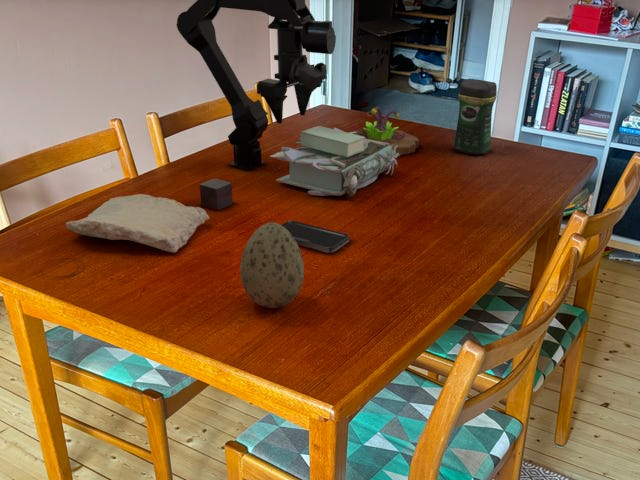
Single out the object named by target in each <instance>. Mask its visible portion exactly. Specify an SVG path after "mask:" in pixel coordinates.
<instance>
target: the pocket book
mask: <svg viewBox="0 0 640 480" xmlns="http://www.w3.org/2000/svg"><path fill="white" fill-rule="evenodd" d="M342 131H343V130H341V131H338V130H334V128H329V127H326V126H321V125H317V126H314V127H311V128H308V129H305V130H302V131H300V138H301V140H300V142H301V144H300V146H301V147H303V146H306V147H309V148H313V149H317V150H321V151H325V152H329V153H332V154H336V155H340V156H344V157H349V156H352V155H354V154H357V153H359V152H362V151H364V150H365V149H363V145H364V138H365V137H363V136H359V135H355V134H351V133H350V132H346V131H344V132H342Z"/></svg>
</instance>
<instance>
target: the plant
mask: <svg viewBox="0 0 640 480" xmlns="http://www.w3.org/2000/svg"><path fill="white" fill-rule="evenodd" d="M377 112H378V114H377ZM391 114H394V118H396V119H398V118H399V117H400V114H399V112H398V111H395V110H390V111H388V112H387V113H386V114H385V116H384V117H383V113H382V109H381V108H380V107H379V106H375V107H373V108H372V109H371V110H369V111H368V112H367V116H368V117H369V118H371V117H372V116H374V118H375V119H376V120H375V121H374V122H373V123H372V122H370V121H365V126H366V128H365V127H362V129H360V128H357V129H356V130H354V131H352V132H357V133H353V134H355V135H359V136H363V137H365V138H364V139H369V140H374V141H379V142H385V143H388V144H390V146H392V149H393V150H394V148H395V146H396V145H398V146H397V147H396V153H399V156H400V157H401V156H404V155H405V156H407V155H410V154H412V153H415V152H416V149H419V147H420V140H419V138H418V137H416V136H414V135H411V134H409V133H407V132H404V131H403V130H398V129H399V128H400V127H399V126H395V127H394V126H393V127H392V124H393V122H390V121H389V120H388V119H389V116H390V115H391ZM392 144H393V145H392ZM396 153H395V154H396ZM395 154H394V155H395ZM399 156H398V157H399Z"/></svg>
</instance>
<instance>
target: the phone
mask: <svg viewBox="0 0 640 480" xmlns="http://www.w3.org/2000/svg"><path fill="white" fill-rule="evenodd" d="M280 225H281V226H283V227H284V228H286V229H287V230H288V231H289V232H290V234H291V235H292V236H293V238H294V239H295V241H296V242H297V244H298V246H301V247H304V248H307V249H311V250H314V251H318V252H322V253H326V254H334V253H335V252H337V251H339V250H340V249H341V248H343V247H344V246H345V245H347V244H349V243H350V234H347V233H343V232H339V231H335V230H332V229H328V228H324V227H320V226H316V225H311V224H307V223H304V222H300V221H296V220H287V221H286V222H284V223H282V224H280Z"/></svg>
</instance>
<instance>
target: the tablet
mask: <svg viewBox="0 0 640 480" xmlns="http://www.w3.org/2000/svg"><path fill="white" fill-rule="evenodd" d="M207 220H210V215H208V213H207V211H206V210H205V209H204V208H201V207H199V206H186V205H184V204H183V203H181V202H178V201H177V200H175V199H170V198H168V197H155V196H154V195H153V196H152V195H150V194H143V193H140V194H139V193H138V194H133V195H124V196H123V195H122V196H117V197H111V198H109V200H108V201H105V202H103V203H102V204H101V205H100V206H99V207H98V208H96V209H94V210H93V211H92V212H90V213H89V214H88V215H87V216H86V217H84V218H81V219H78V220H72V221H67V222H66V223H65V226H66V229H67V230H70V231H71V232H73V233H75V234H79V235H81V236H87V237H94V238H100V239H107V240H111V241H117V240H118V241H119V240H120V241H122V240H123V241H124V240H125V241H131V242H135V243H139V244H142V245H146V246H148V247H152V248H156V249H159V250H161V251H163V252H164V251H165V252H169V253H173V254H175V253H177V252H178V250H179V249H182V248H183V246H185V245H187V242H188V240H189V239H190V238H191V237H192V236H193V235H194V234H195V232H196V230H197V227H199V226H201V225H203V224H204V223H205V222H206V221H207Z"/></svg>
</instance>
